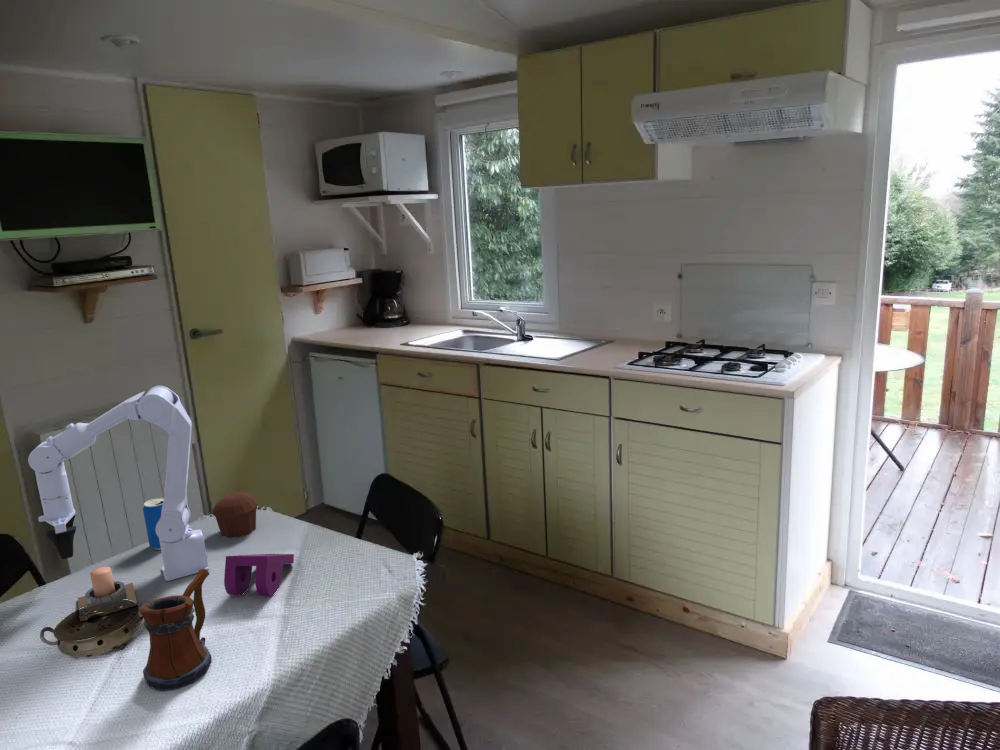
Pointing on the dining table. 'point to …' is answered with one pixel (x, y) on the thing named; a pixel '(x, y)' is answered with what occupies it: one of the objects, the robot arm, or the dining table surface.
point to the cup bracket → (120, 594)
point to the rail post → (102, 582)
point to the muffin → (236, 514)
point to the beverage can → (153, 520)
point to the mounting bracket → (266, 572)
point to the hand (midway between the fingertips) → (67, 551)
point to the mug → (176, 638)
